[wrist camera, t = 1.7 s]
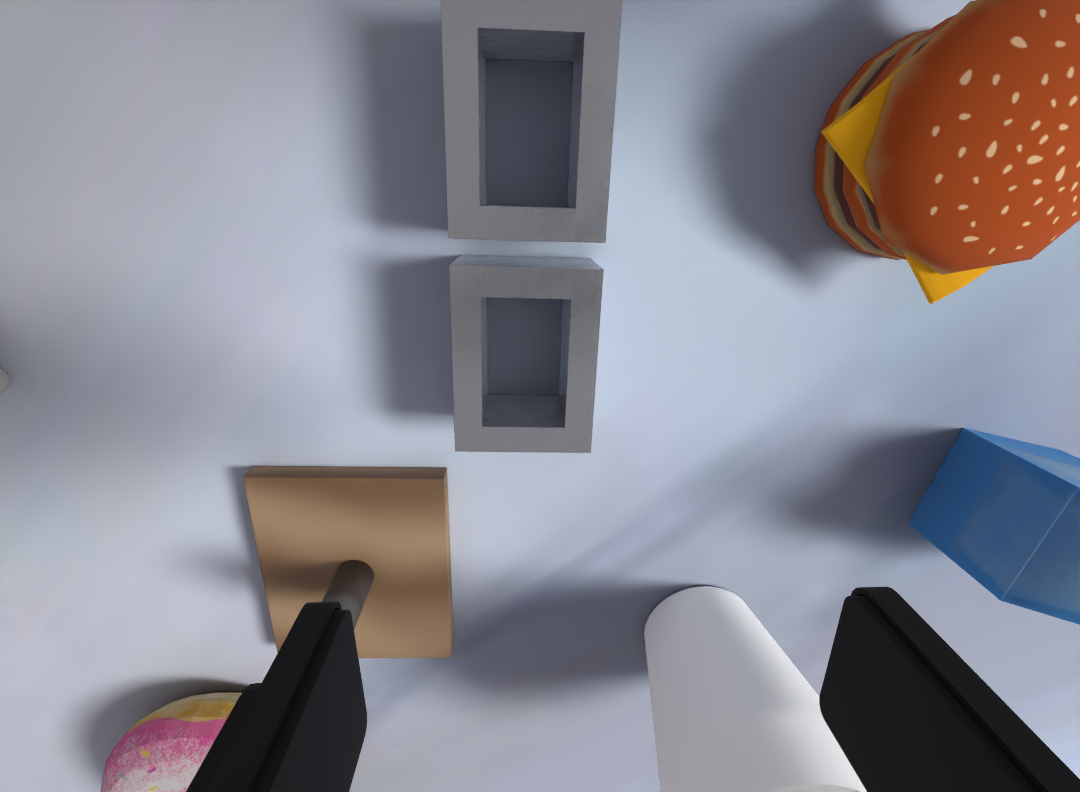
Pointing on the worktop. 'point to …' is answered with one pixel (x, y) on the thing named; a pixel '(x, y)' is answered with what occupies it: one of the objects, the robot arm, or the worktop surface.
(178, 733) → the donut
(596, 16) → the grey hollow block
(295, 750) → the robot arm
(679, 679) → the cup
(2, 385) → the figurine
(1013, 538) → the perfume bottle
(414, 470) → the keeper
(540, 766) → the worktop surface
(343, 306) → the worktop surface
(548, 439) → the link
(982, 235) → the hamburger
